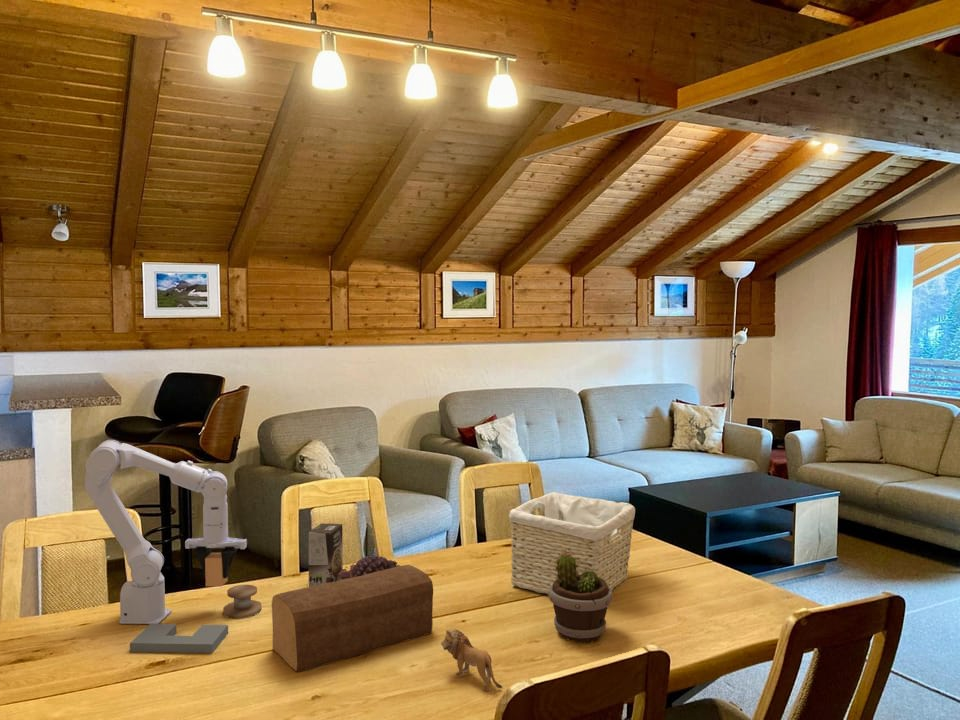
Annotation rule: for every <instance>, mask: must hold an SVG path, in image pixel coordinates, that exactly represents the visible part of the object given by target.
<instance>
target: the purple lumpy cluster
mask: <svg viewBox="0 0 960 720" xmlns="http://www.w3.org/2000/svg"><path fill="white" fill-rule="evenodd" d="M398 566H401V565H398V562H396V561H395V560H392V559H387V558H386V557H383V556H382V555H380V556H378V555H374V554H373V555H368V556H367V555H366V556H365V557H362V558H360V559H359V560H358V561H357V562H356V563H355V564H354V563H353V564H351V565H349V567H350V568H349V570H347V568H344V569H343V570H342V571H341V573H339V574H337V576H340V578H341V579H342V580H344V579H348V578H353V577H358V576H362V575H366V574H370V573H374V572H378V571H382V570H386V569H391V568H394V567H398Z"/></svg>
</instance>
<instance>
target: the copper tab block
mask: <svg viewBox="0 0 960 720" xmlns="http://www.w3.org/2000/svg"><path fill="white" fill-rule="evenodd" d="M205 576H206V578H205V587H223V586H224V585H225V584H226V583H227V582H228V581H229V579H228V578H229V576H228V577H227V578H223V561H222V556H221V552H211V553H210V554H209V555H208V556H207V557H206V558H205Z"/></svg>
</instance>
